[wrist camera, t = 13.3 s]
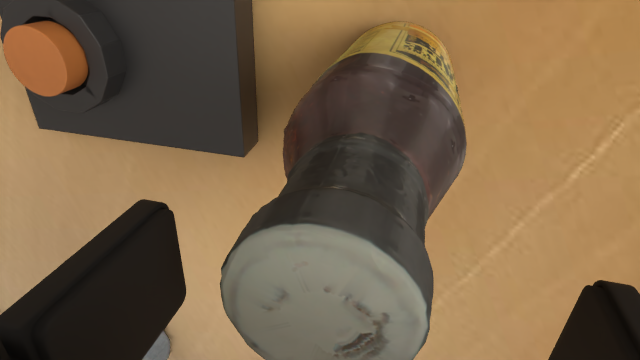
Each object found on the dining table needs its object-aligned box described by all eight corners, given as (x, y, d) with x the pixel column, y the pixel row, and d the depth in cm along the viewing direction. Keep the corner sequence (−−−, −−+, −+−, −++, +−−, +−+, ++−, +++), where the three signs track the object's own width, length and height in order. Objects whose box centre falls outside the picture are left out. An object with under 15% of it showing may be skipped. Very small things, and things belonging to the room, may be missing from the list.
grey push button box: (250, -51, 23) (215, -51, 19) (258, 141, 29) (233, 170, 25) (13, -62, 26) (-59, -64, 22) (66, 115, 32) (17, 138, 28)
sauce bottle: (462, 103, 24) (546, 444, 8) (365, 131, 27) (264, 441, 10) (433, -8, 22) (462, 137, 5) (329, 35, 24) (109, 230, 7)
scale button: (78, 23, 23) (54, 28, 21) (95, 91, 25) (75, 100, 23) (19, 18, 24) (-8, 22, 22) (40, 84, 26) (17, 93, 24)
